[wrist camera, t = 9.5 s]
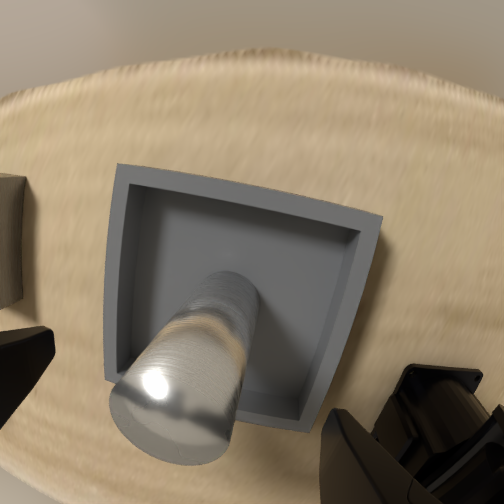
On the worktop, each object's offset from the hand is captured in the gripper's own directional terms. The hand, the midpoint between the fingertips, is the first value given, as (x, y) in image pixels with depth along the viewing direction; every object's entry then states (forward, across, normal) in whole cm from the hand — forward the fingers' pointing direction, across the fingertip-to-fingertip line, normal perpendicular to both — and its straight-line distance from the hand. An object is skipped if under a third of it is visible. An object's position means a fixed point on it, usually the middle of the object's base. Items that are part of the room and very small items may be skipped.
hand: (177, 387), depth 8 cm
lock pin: (+7, 0, 0) cm, 7 cm away
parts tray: (+8, 0, 0) cm, 8 cm away
